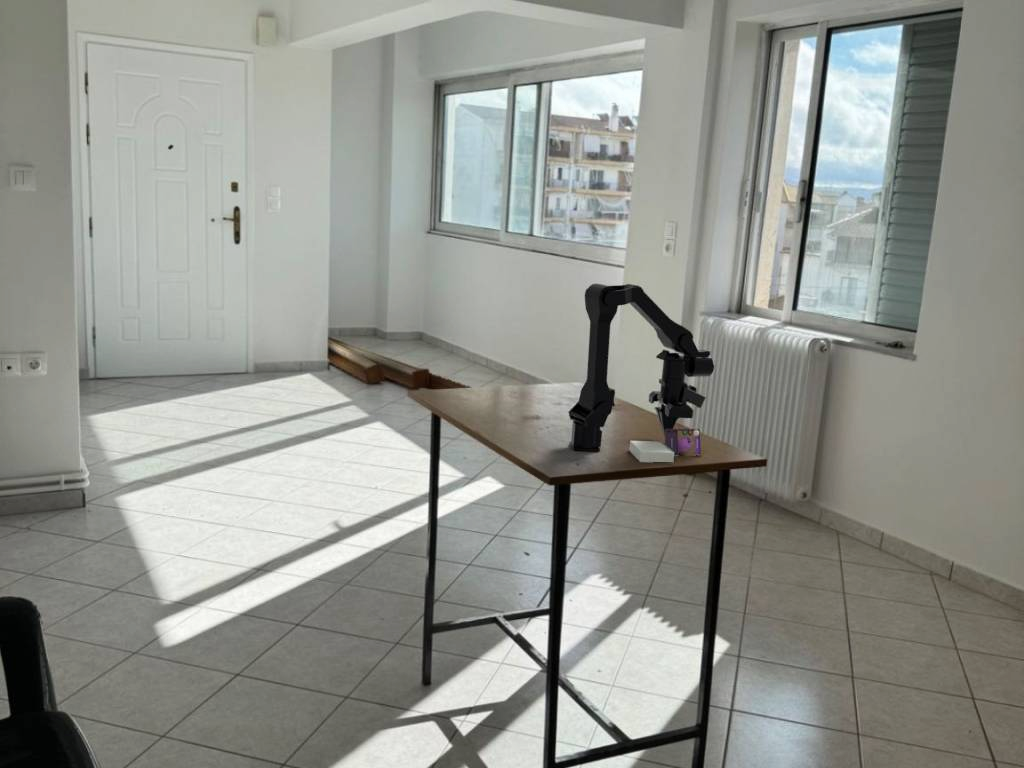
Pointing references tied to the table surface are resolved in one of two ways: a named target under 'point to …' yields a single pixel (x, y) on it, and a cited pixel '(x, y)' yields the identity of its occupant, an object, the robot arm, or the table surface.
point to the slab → (651, 451)
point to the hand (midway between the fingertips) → (666, 437)
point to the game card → (682, 440)
